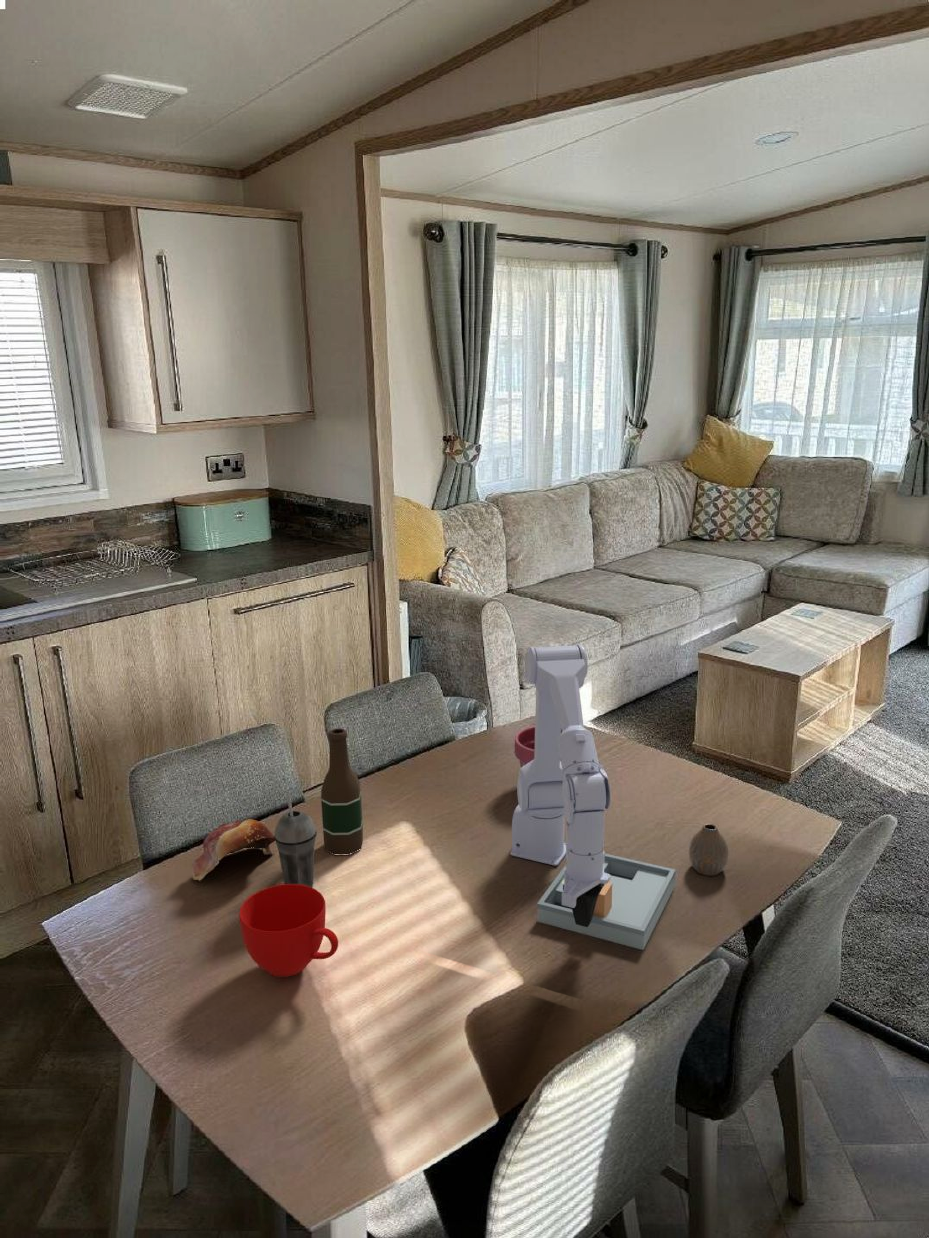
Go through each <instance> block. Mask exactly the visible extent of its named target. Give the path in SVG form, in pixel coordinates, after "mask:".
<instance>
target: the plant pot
mask: <svg viewBox="0 0 929 1238" xmlns="http://www.w3.org/2000/svg"><path fill="white" fill-rule="evenodd" d="M561 733H562V730H561ZM534 754H535V725H534V726H530V727H526V728H524V729H521V730H520V731H518V732H517V733H516V734H515V737H514V756H515V757H516V759H518V761H519V764H520V765H519V766H520V768H521V767H523V766H524V765H526V764H527V763H529V762H531V761H532V760H534ZM560 761H561V760H560Z"/></svg>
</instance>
